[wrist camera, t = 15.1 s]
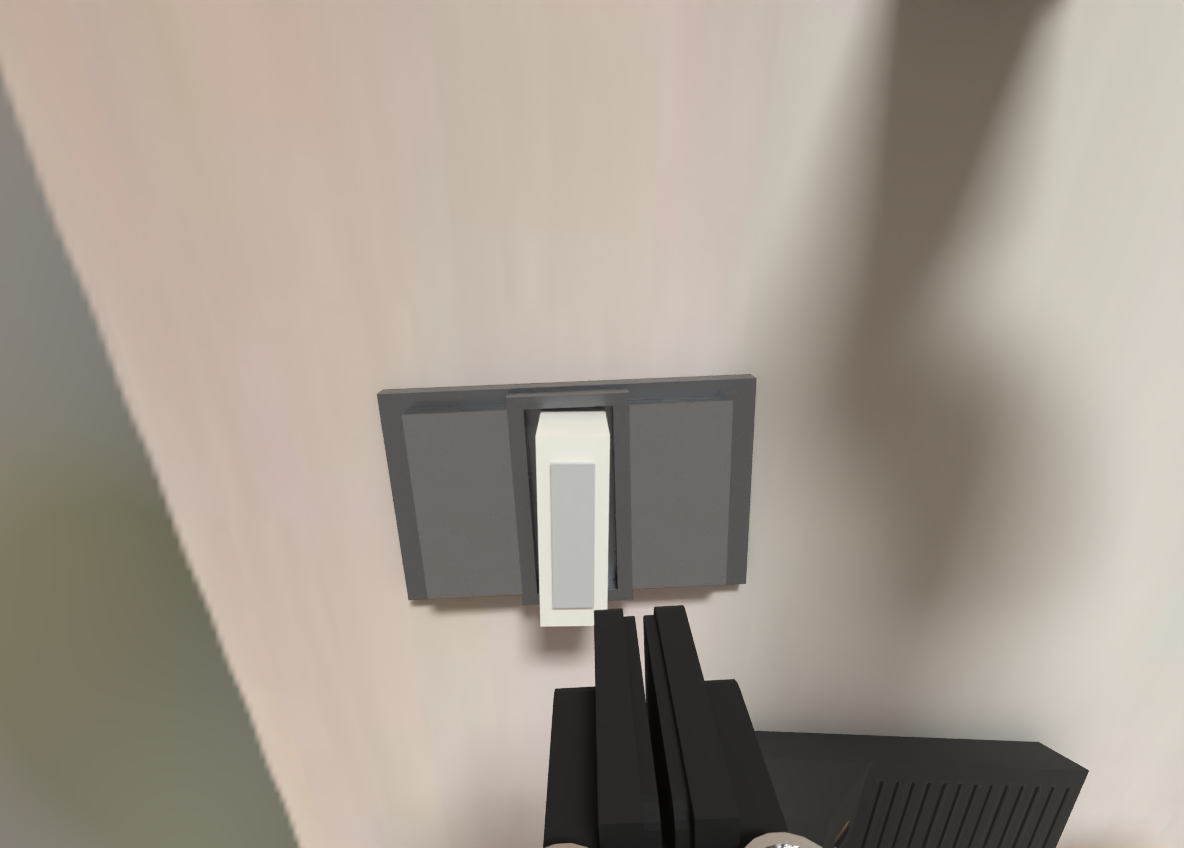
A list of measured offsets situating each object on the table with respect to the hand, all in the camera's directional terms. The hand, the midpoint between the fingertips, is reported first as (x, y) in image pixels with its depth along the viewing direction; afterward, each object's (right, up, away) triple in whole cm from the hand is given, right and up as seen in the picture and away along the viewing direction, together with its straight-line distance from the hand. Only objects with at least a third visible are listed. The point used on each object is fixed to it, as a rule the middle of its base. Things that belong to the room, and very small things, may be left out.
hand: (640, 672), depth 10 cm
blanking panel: (-2, 0, +27) cm, 27 cm away
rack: (-2, 0, +28) cm, 28 cm away
